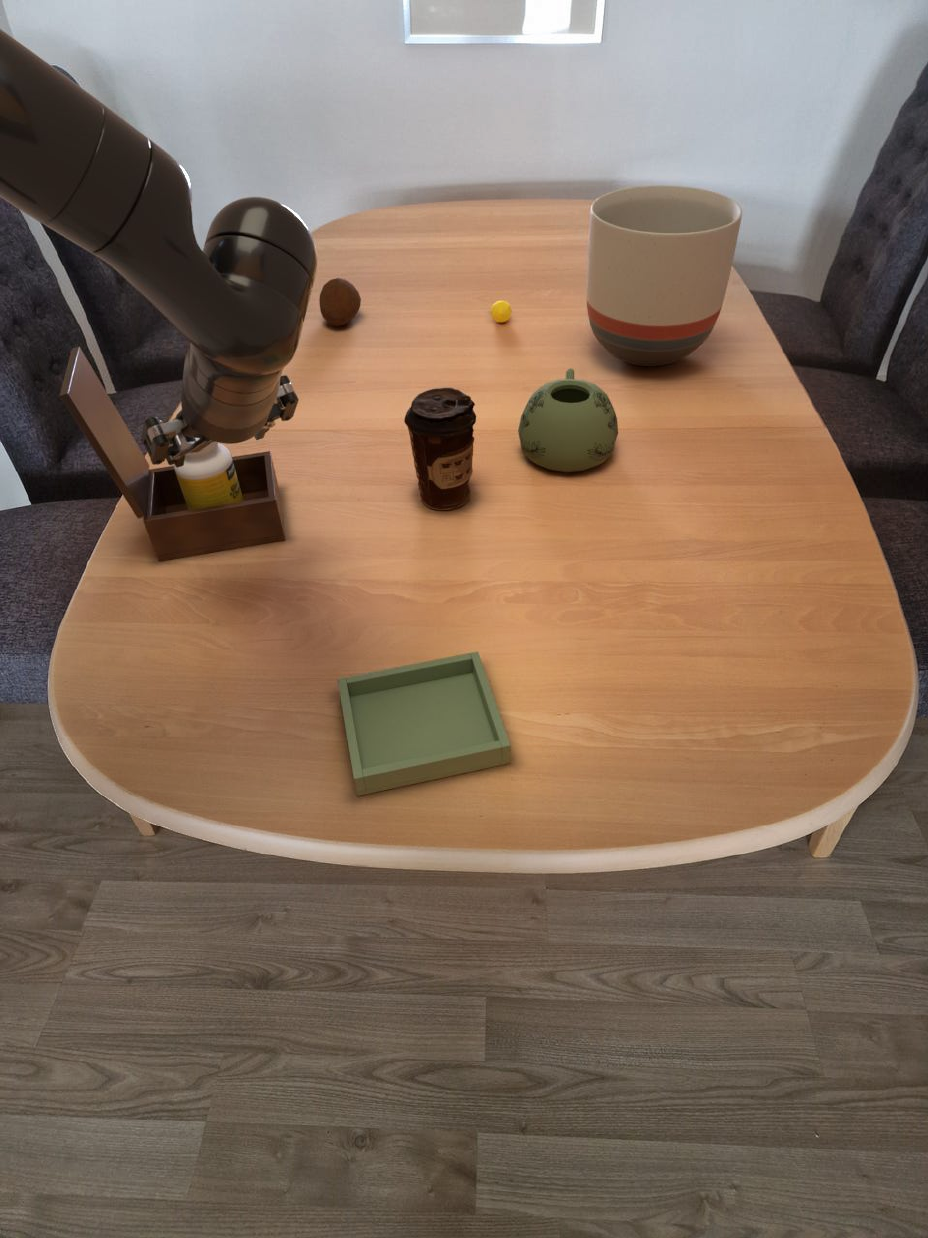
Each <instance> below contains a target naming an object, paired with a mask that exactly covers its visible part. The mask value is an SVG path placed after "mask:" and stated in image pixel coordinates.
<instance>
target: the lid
mask: <svg viewBox="0 0 928 1238" xmlns="http://www.w3.org/2000/svg"><path fill="white" fill-rule="evenodd" d="M59 398H60V399H61V401H62V402H63V404H64V405H65V408H66V409H67V410H68V412H69V413H70V415H71V417H72V418H73V419H74V421H75V422H76V424H77V426H78V427H79V429H80V431H81V432H82V433H83V436H84V437H85V438H86V440H87V442H88V444H89V445H90V446H91V448H92V449H93V450H94V452H95V454H96V455H97V457H98V459H99V460H100V462H101V463H102V465H103V467H104V468H105V469H106V471H107V473H108V474H109V476H110V477H111V479H112V480H113V483H114V484H115V485H116V487H117V488H118V490H119V491H120V493H121V495H122V497H123V498H124V500H125V501H126V502H127V504H128V505H129V507H130V509H131V510H132V512H133V513H134V515H135V516H136V518H137V519H143V518H144V517H145V511H146V499H147V487H148V475H149V470H150V463H149V462H148V460H147V458H146V456H145V455H144V454H143V452H142V450H141V448H140V446H139V445H138V443H137V442H136V439H135V438H134V436H133V435H132V432H131V431H130V429H129V428H128V425H126V423H125V422H124V421H125V420H124V419H123V418H122V416H121V414H120V412H119V411H118V409H117V407H116V406H115V404H114V402H113V401H112V399H111V397H110V396H109V394H108V393H107V390H106V389H105V387H104V386H103V384H102V382H101V381H100V379H99V377H98V375H97V373H96V372H95V371H94V369H93V367H92V365H91V363H90V362H89V360H88V358H87V357H86V355H85V353H84V352H83V350H82V348H81V347H80V346H76V347H73V348H71V351H70V355H69V358H68V362H67V365H66V369H65V374H64V378H63V381H62V385H61V390H60V393H59Z"/></svg>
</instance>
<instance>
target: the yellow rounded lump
mask: <svg viewBox="0 0 928 1238" xmlns="http://www.w3.org/2000/svg"><path fill="white" fill-rule="evenodd" d="M512 312H513V310H512V307H511V304H510V303H509V302H507V301H506V300H497V301H495V302H494V303H493V304H492V305H491V308H490V314H491V317H492V319H493V320H494V321H495V322H497V323H505V322H507V321H509V319H511V315H512Z"/></svg>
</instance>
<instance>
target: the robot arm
mask: <svg viewBox="0 0 928 1238" xmlns="http://www.w3.org/2000/svg"><path fill="white" fill-rule="evenodd" d="M0 198H1V199H3V200H4V201H6V202H7V203H9V204H10V205H12V206H13V207H15V208H16V209H18V210H19V211H21V212H22V213H24V214H26V215H28V216H29V217H31V218H32V219H34V220H35V221H37V222H38V223H40V224H42V225H44V226H45V227H47V228H49V229H50V230H52V231H54V232H56V233H57V234H58V235H60V236H62V237H64V238H65V239H67V240H69V241H70V242H72V243H73V244H75V245H77V246H78V247H80V248H82V249H83V250H85V251H87V252H88V253H90V254H91V255H93V256H95V257H96V258H98V259H100V260H101V261H103V262H104V263H106V264H107V265H109V266H110V267H111V268H112V269H114V270H115V271H116V272H117V273H118V274H119V275H120V276H121V277H122V278H124V280H125V281H126V282H128V283H129V285H131V286H132V287H133V288H134V289H135V290H136V291H137V292H138V293H139V294H140V295H141V296H143V297H144V299H146V300H147V301H148V302H149V303H150V305H152V306H153V307H154V309H156V310H157V311H158V312H159V313H160V314H161V315H162V316H163V317H164V318H165V320H167V321H168V322H169V324H171V325H172V327H174V329H176V331H178V332H179V333H180V334H181V336H182V337H184V339H186V340H187V341H188V342H189V347H188V350H187V352H186V354H185V359H184V362H183V373H182V382H181V390H180V391H181V392H180V405H181V410H179V411H178V412H177V414H176V415H175V417H174V418H173V419H172V420H169V421H168V422H163V420H160V419H159V417H157V416H149V417H147V419H145V420H144V421H143V427H142V431H141V442H142V446H144V448H145V450H146V453H147V454H148V456H149V459H150V461H151V464H152V465H153V466H155V465H158V466H159V465H161V464H162V463H164V462H165V461H166V463H167V464H168V465H169V466H174V464H175V466H176V467H177V468H178V467H181V466H184V460H185V455H186V454H187V453H194V452H199V451H201V450H202V449H203V448H205V447H206V446H208V445H209V444H211V443H212V442H218V443H219V444H227V445H228V444H229V445H232V444H240V443H243V442H246V441H249V440H251V439H252V438H254V439H255V440H256V441H259V440H263V439H264V438H265V435H266V433H267V432H268V433H269V431H270V430H271V429H273V428H274V426H276V420H278V419H281V421H282V422H288V421H290V420H291V419H292V418H293V417H294V415H295V412H296V408H297V406H298V403H299V401H300V400H299V397H298V395H297V393H296V390H295V389H294V387H293V384H292V382H291V380H290V377H289V375H287V374H286V375H285V374H283V372H284V370H285V368H286V367H287V366H288V365H289V364H290V363H291V361H292V360H293V358H294V356H295V354H296V353H297V350H298V347H299V343H300V340H301V336H302V331H303V328H304V322H305V318H306V315H307V311H308V307H309V302H310V299H311V295H312V291H313V287H314V283H315V279H316V275H317V270H318V258H319V257H318V251H317V247H316V242H315V239H314V237H313V236H312V235H313V234H312V233H311V231H310V230H309V228H308V226H307V225H306V224H305V222H304V221H303V220H302V218H301V217H300V216H299V215H298V214H297V213H296V212H294V211H293V210H292V209H291V208H289V207H288V206H287V205H285V204H283V203H282V202H280V201H277V200H274V199H271V198H267V197H263V196H248V197H242V198H239V199H236V200H234V201H231V202H229V203H228V204H226V205H224V207H222V208H221V209H220V210H219V211H218V212H217V213H216V215H215V216H214V218H213V219H212V221H211V223H210V225H209V228H208V230H207V234H206V238H205V242H204V244H203V248H202V249H201V247H200V246H199V243H198V241H197V238H196V234H195V231H194V221H193V188H192V184H191V180H190V177H189V175H188V173H187V172H186V169H184V167H183V166H182V165H181V163H180V162H178V161H177V159H175V158H174V157H173V156H172V155H171V154H170V153H168V152H167V151H166V150H165V149H164V148H162V147H161V146H159V144H157V143H156V142H154V141H153V140H151V139H150V138H149V137H148V136H146V135H145V134H144V133H142V132H141V131H140V130H138V129H137V128H136V127H134V126H133V125H132V124H131V123H129V122H128V121H127V120H126V119H124V118H122V117H121V116H120V115H118V113H116V112H115V111H114V110H112V109H111V108H109V107H108V106H107V105H105V103H103V102H102V101H100V100H99V99H97V97H95V96H93V95H92V94H90V92H88V91H86V90H85V89H84V88H83V87H81V86H80V85H79V84H77V83H76V82H74V81H73V80H71V78H69V77H68V76H67V75H65V74H63V73H62V72H61V71H60V70H58V69H57V68H55V67H54V66H52V65H51V64H50V63H48V62H47V61H45V60H44V59H43V58H41V57H40V56H39V55H38V54H36V53H35V52H33V51H32V50H30V49H29V48H28V47H26V46H25V45H23V44H22V43H21V42H20V41H18V40H17V39H16V38H14V37H13V36H11V35H10V34H8V33H7V32H6V31H4V30H2V29H1V28H0ZM282 374H283V375H282ZM177 435H178V437H179V439H180V442H181V446H180V444H179V442H178V440H177V438H176V436H177ZM195 438H200V439H199V440H197V441H196V439H195Z"/></svg>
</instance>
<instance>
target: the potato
mask: <svg viewBox="0 0 928 1238" xmlns="http://www.w3.org/2000/svg"><path fill="white" fill-rule="evenodd" d="M361 302H362V298H361V295H360V292H359V291H358V290H357V288H356V286H355V285H354V284H353V283H351V281H349V280H347V279H345V278H340V277H335V278H331V279H330V280H328V281H327V282H326V283H324V284H323V285H322V289H321V291H320V294H319V301H318V303H319V310H320V314H321V316H322V318H323V319H324V321H325V322H326V323H328V324H329V325H330V326H331V325H332V326H336V327H338V326H344V325H346V324H348V323H349V322H350V321H352V320H353V319H354V318H355V317H356V316H357V314H358V312H359V310H360V308H361Z"/></svg>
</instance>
